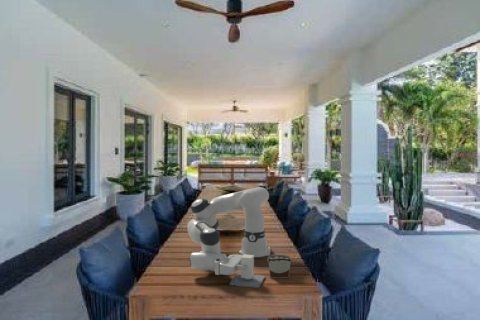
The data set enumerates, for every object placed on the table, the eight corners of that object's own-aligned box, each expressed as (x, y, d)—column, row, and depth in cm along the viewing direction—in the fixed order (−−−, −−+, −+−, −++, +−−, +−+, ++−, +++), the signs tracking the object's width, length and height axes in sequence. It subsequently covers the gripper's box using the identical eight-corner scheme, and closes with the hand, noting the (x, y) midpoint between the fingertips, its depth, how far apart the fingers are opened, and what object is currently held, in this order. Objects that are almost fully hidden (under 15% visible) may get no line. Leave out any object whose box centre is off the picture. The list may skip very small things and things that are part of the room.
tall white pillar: (243, 274, 203) (244, 254, 203) (253, 275, 202) (253, 255, 201) (241, 277, 199) (241, 257, 198) (251, 278, 197) (251, 258, 196)
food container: (290, 273, 212) (290, 254, 211) (291, 277, 206) (292, 257, 205) (265, 273, 212) (266, 254, 211) (267, 277, 205) (267, 258, 205)
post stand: (237, 275, 209) (237, 259, 208) (265, 277, 205) (265, 261, 205) (229, 285, 196) (229, 268, 195) (258, 288, 192) (258, 271, 191)
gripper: (227, 262, 214) (253, 265, 210) (214, 276, 194) (243, 279, 190) (227, 250, 213) (253, 252, 210) (214, 262, 193) (243, 265, 190)
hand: (248, 265), depth 200 cm, fingers closed on tall white pillar, 5 cm apart
